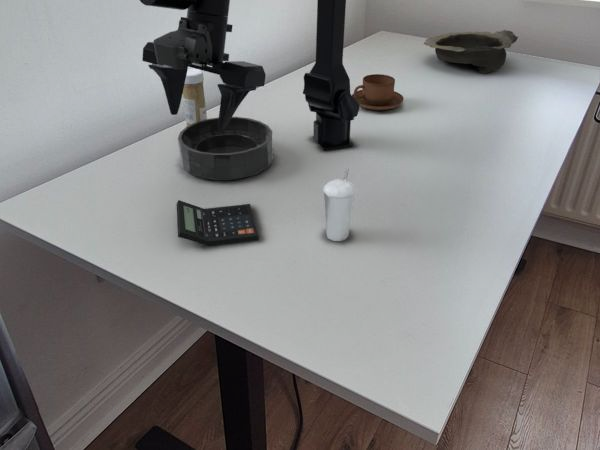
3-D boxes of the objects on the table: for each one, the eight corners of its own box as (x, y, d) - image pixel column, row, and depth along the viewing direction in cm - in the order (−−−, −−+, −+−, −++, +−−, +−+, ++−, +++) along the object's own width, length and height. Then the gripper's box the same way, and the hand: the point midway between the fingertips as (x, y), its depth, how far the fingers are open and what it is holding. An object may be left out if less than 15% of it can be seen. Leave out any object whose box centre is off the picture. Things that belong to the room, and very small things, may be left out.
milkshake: (358, 228, 85) (362, 171, 79) (345, 247, 81) (349, 187, 75) (331, 222, 86) (333, 165, 81) (317, 239, 82) (318, 180, 77)
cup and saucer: (378, 118, 122) (381, 91, 119) (340, 104, 129) (341, 78, 126) (413, 105, 129) (416, 79, 125) (375, 92, 136) (377, 67, 133)
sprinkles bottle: (212, 136, 114) (206, 72, 107) (192, 141, 112) (184, 76, 104) (203, 129, 117) (196, 66, 110) (183, 133, 115) (175, 70, 108)
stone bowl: (526, 77, 145) (532, 41, 140) (431, 84, 146) (433, 49, 141) (499, 50, 165) (503, 18, 160) (416, 56, 167) (417, 24, 162)
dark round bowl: (258, 137, 113) (257, 112, 110) (284, 173, 100) (284, 146, 97) (175, 149, 109) (171, 123, 106) (191, 189, 95) (187, 161, 92)
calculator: (258, 240, 82) (257, 223, 80) (179, 249, 80) (177, 232, 78) (250, 208, 90) (249, 192, 88) (178, 216, 88) (175, 200, 86)
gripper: (116, -2, 74) (112, 111, 80) (227, 22, 67) (213, 145, 73) (172, 4, 84) (164, 105, 90) (274, 26, 76) (259, 135, 82)
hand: (197, 121), depth 83 cm, fingers open, 9 cm apart
